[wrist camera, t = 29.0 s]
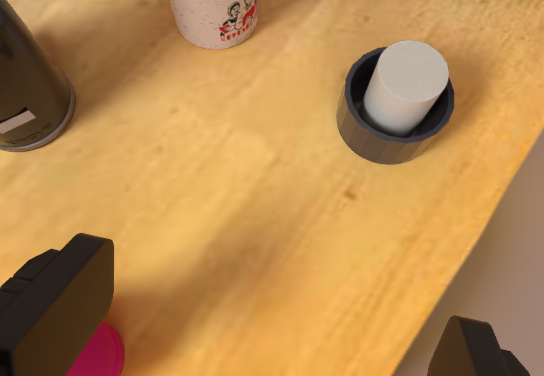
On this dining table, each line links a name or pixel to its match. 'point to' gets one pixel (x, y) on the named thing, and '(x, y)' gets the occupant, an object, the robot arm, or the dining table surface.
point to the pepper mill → (100, 354)
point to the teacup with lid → (215, 21)
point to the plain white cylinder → (403, 88)
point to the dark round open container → (375, 142)
